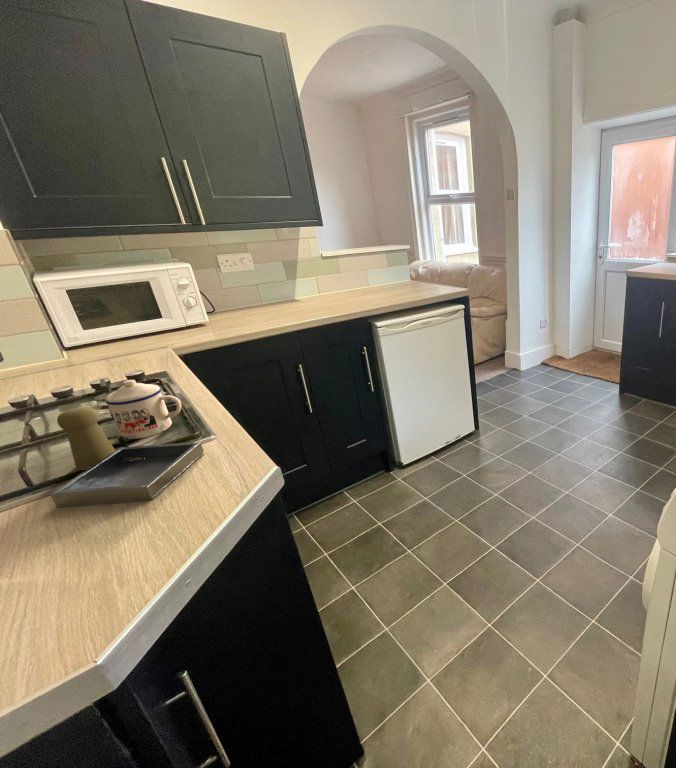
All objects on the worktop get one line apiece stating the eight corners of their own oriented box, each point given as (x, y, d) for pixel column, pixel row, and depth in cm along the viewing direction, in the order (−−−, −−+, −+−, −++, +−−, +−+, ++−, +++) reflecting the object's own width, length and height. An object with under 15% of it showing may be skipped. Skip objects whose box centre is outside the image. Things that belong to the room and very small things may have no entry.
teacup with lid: (112, 443, 87) (89, 392, 82) (132, 425, 94) (112, 376, 90) (180, 433, 90) (162, 383, 86) (194, 415, 98) (178, 369, 94)
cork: (88, 473, 76) (62, 419, 72) (68, 467, 78) (42, 414, 74) (126, 456, 82) (104, 405, 78) (107, 451, 84) (84, 401, 80)
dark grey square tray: (56, 507, 67) (49, 494, 66) (125, 458, 81) (120, 447, 80) (152, 500, 68) (147, 486, 67) (204, 453, 82) (200, 441, 81)
